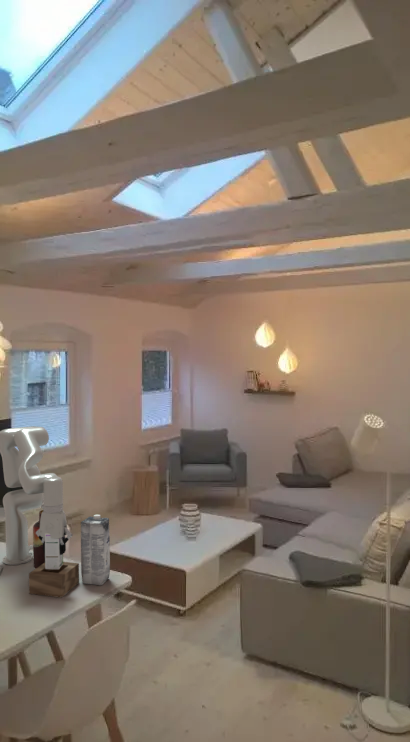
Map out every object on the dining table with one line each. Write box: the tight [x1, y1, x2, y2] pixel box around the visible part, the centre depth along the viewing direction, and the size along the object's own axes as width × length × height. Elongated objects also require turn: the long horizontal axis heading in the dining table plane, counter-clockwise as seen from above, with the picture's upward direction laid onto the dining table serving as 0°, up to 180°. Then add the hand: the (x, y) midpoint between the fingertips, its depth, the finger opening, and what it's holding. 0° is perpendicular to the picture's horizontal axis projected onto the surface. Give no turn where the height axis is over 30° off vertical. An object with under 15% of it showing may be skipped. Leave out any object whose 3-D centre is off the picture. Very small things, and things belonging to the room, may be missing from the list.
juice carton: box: [80, 514, 111, 586], centre depth 225 cm, size 9×10×27 cm
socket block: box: [28, 561, 80, 598], centre depth 219 cm, size 14×14×8 cm
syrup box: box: [45, 533, 64, 569], centre depth 218 cm, size 6×6×14 cm
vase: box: [32, 509, 45, 570], centre depth 235 cm, size 11×11×26 cm
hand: (54, 552), depth 218 cm, fingers closed on syrup box, 6 cm apart
